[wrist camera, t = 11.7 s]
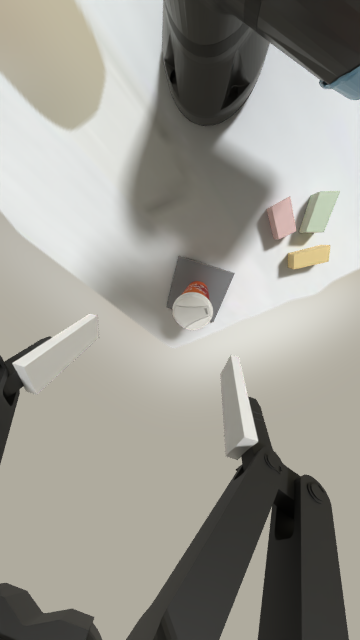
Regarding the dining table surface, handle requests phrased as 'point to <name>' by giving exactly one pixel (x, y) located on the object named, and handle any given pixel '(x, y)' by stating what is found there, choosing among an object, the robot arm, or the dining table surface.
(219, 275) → the slate mat
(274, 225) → the rose brick
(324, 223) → the sage brick
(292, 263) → the ochre brick
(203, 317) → the paper cup
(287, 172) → the dining table surface
